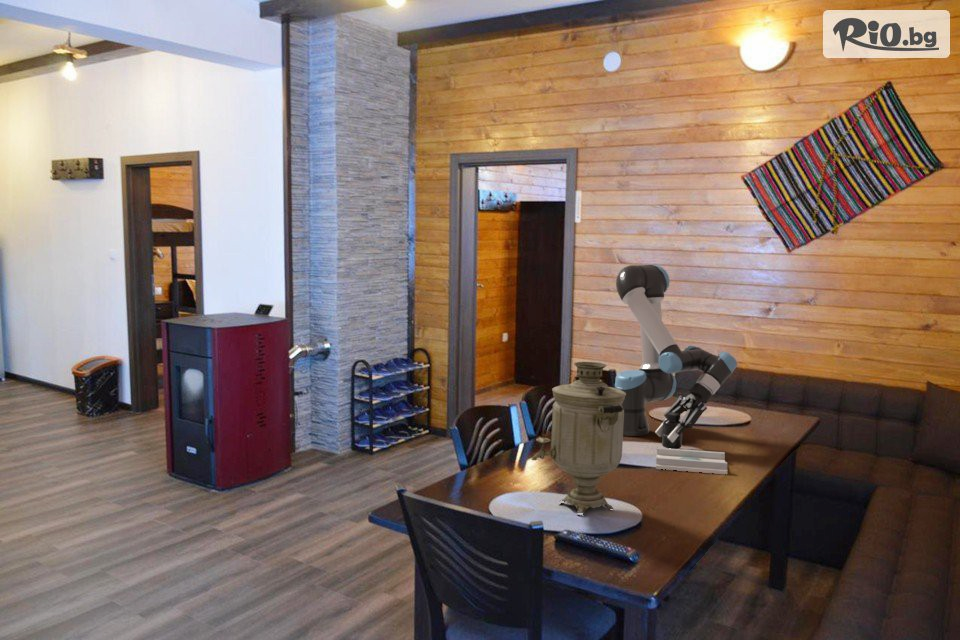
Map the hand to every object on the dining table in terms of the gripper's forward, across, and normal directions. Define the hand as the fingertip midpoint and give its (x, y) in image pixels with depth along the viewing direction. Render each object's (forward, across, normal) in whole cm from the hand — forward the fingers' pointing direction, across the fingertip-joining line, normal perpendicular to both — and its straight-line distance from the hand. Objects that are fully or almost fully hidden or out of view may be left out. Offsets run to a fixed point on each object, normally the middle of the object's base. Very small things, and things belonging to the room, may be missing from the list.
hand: (663, 437), depth 260 cm
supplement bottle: (0, 0, -5) cm, 5 cm away
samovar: (+43, -39, +36) cm, 68 cm away
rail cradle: (+4, -18, -2) cm, 18 cm away
